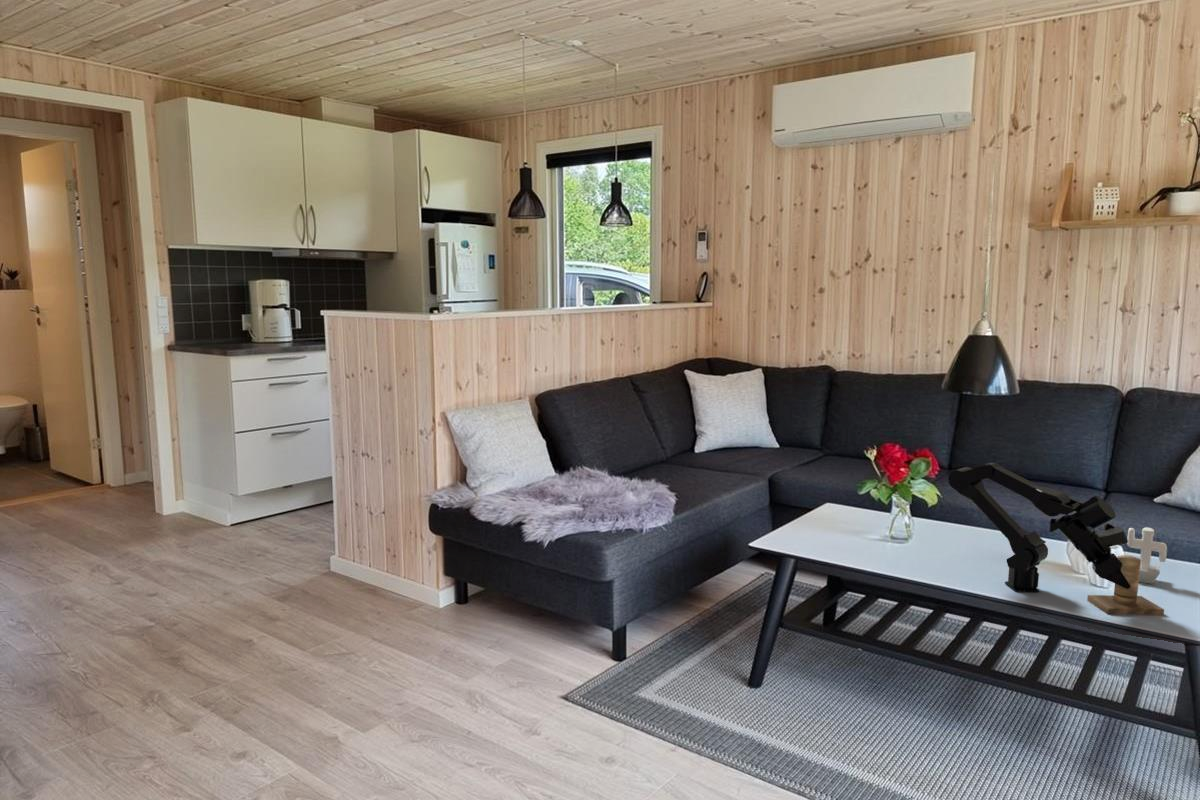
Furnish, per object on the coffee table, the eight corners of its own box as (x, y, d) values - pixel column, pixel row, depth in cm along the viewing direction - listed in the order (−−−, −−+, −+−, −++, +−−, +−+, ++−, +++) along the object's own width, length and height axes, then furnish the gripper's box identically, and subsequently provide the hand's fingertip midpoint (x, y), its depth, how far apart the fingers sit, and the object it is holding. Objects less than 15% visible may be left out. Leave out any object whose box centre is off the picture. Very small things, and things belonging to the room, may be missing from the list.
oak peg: (1120, 610, 208) (1125, 561, 207) (1108, 602, 213) (1113, 554, 212) (1140, 610, 208) (1145, 561, 206) (1128, 603, 213) (1133, 555, 211)
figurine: (1163, 587, 226) (1168, 534, 224) (1122, 580, 231) (1127, 528, 229) (1163, 579, 231) (1169, 528, 229) (1124, 572, 237) (1129, 522, 235)
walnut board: (1107, 614, 206) (1108, 608, 206) (1087, 600, 215) (1087, 595, 215) (1163, 615, 206) (1164, 609, 206) (1140, 601, 215) (1141, 596, 215)
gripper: (1116, 526, 201) (1163, 575, 199) (1099, 507, 218) (1143, 552, 216) (1076, 552, 205) (1122, 601, 203) (1063, 532, 222) (1106, 576, 220)
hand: (1124, 581), depth 210 cm, fingers open, 9 cm apart
